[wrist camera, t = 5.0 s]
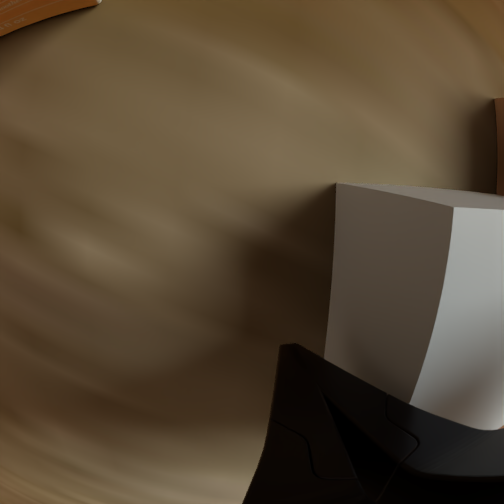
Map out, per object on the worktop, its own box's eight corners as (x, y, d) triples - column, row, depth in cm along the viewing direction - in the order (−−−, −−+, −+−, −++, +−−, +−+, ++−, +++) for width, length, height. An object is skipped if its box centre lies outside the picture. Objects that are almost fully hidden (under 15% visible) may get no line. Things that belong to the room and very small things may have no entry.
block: (462, 355, 12) (523, 410, 7) (318, 394, 11) (366, 493, 6) (495, 194, 10) (586, 218, 5) (336, 182, 9) (453, 206, 4)
